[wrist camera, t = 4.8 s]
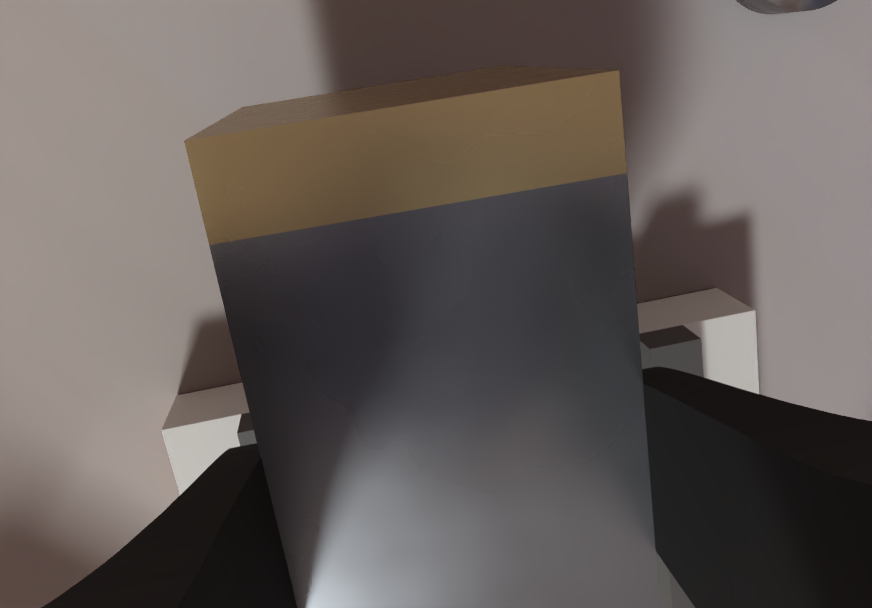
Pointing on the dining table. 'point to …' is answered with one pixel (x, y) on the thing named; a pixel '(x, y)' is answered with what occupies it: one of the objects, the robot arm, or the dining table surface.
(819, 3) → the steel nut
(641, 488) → the housing
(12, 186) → the dining table surface
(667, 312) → the stand
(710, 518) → the robot arm
